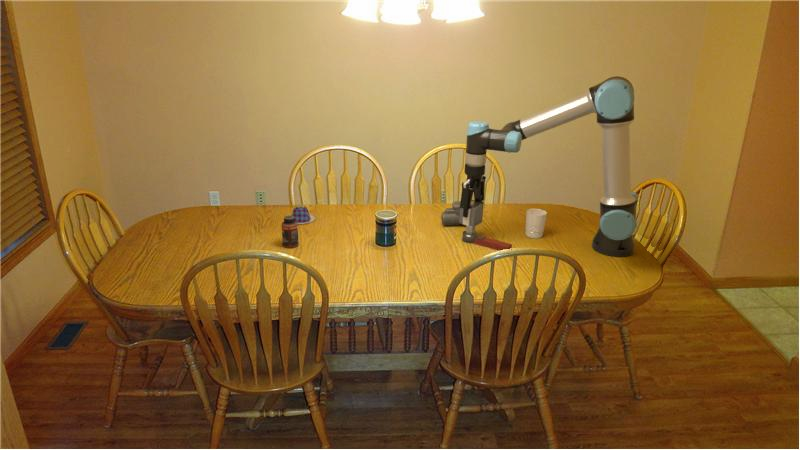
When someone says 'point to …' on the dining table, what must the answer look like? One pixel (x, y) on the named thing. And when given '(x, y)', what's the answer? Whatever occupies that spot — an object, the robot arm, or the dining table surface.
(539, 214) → the white cup
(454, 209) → the pipe fitting
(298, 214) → the purple plaid hat
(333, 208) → the dining table surface
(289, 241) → the supplement bottle
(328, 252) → the dining table surface
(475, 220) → the dark metal cube
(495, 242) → the ratchet
